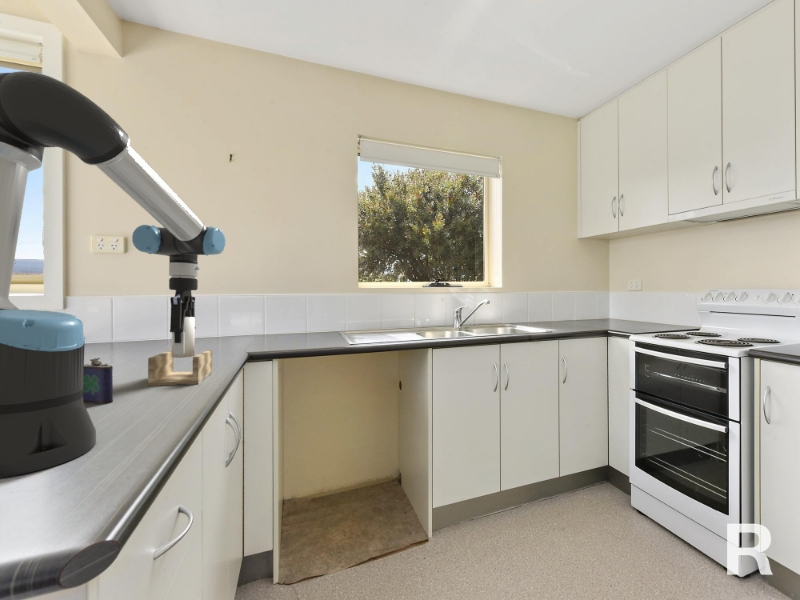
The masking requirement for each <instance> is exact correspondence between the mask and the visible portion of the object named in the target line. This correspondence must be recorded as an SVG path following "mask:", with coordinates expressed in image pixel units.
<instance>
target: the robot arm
mask: <svg viewBox="0 0 800 600" xmlns="http://www.w3.org/2000/svg"><path fill="white" fill-rule="evenodd" d="M130 142H131V138H130V136H129V134H128V133H127V132H126V131H125V130H124V129H123V128H122V127H121V125H120V124H119V123H118V122H117V121H116V120H115V119H114V118H112V116H111V115H110V114H109V113H107V112H106V111H105V110H104V109H103V108H102V107H101V106H99V105H98V104H96V102H94V101H92V100H91V99H90V98H89V97H88V96H86V95H84V94H83V93H81V92H80V91H78V90H77V89H75V88H73V87H72V86H70V85H69V84H67V83H65V82H63V81H61V80H59V79H56V78H54V77H52V76H48V75H47V74H42V73H40V72H39V73H38V72H34V71H24V70H23V71H13V72H0V479H1V478H8V477H13V476H19V475H24V474H28V473H29V474H30V473H33V472H37V471H40V470H44V469H48V468H52V467H55V466H57V465H60V464H64V463H66V462H69V461H72V460H74V459H76V458H78V457H80V456H83V455H84V454H86V453H88V452H89V451H90V450H92V449H93V448H94V447H95V446H96V445H97V430H96V428H95V425H94V422H93V420H92V418H91V416H90V414H89V412H88V409H87V407H86V405H85V403H84V402H83V376H84V365H85V345H86V344H85V343H86V341H85V340H86V338H85V337H86V336H85V335H84V324H83V321H82V320H81V319H80V318H79V317H78V316H76V315H73V314H70V313H67V312H58V311H51V310H37V309H36V310H34V309H20V308H19V307H17V305H15V304H14V303H13V302H11V300H10V299H9V295H10V289H11V282H12V277H13V269H14V265H15V264H14V263H15V258H16V251H17V243H18V239H19V232H20V225H21V221H22V220H21V219H22V213H23V207H24V201H25V194H26V190H27V189H26V188H27V183H28V176H29V173H30V172H32V171H35V170H37V169H40V168H41V167H42V165H43V160H44V159H43V158H44V154H45V153H44V152H45V148H60V149H63V150H66V151H68V152H70V153H72V154H73V155H75V156H76V157H77V158H78V159H80V161H82V162H83V163H84V164H87V165H88V166H95V167H97V168H98V169H99V170H100V171H101V172H102V173H103V174H104V175H106V177H108V178H109V179H110V180H112V182H113V183H115V184H116V186H118V187H119V188H120V189H121V190H122V191H123V192H124V193H125V194H127V195H128V196H129V197H130V198H131V199H132V200H133V201H134V202H136V203H137V204H138V205H139V206H140V207H141V208H142V209H144V210H145V212H147V214H149V215H150V216H151V217H152V218H153V219H154V220H156V221H157V222H158V223H159V224H160V225H161V226H162V227H160V226H155V225H149V224H141V225H139V226H137V227H136V228H135V229H134V231H133V232H132V236H131V237H132V240H131V241H132V245H133V246H134V248H135V249H136V250H138V251H139V252H141V253H145V254H149V255H159V256H160V255H161V256H167V257H169V258H168V259H169V262H168V276H170V278H169V279H168V288H169V290H171V291H175V292H174V296H171V297H170V298H169V301H170V325H169V327H170V328H169V332H170V333H172V332H174V352H173V354H184V351H185V332H183V328H184V318H185V317H195V318H196V313H195V312H196V311H195V310H196V309H195V305H196V304H195V303H196V297H195V296H193V295H192V291H197V290H198V288H199V287H198V286H199V285H198V283H199V279H197V277H198V275H199V274H198V273H199V272H198V271H199V270H200V267H198V266H199V264H198V258H199V256H209V255H211V256H212V255H213V256H214V255H215V256H216V255H219V254H222V253H223V251H224V249H225V247H226V237H225V234H224V232H223V231H222V230H221V228H219V227H213V226H208V227H207V226H206V225H205V223H204V222H202V221H201V220H200V218H199V216H197V215H196V214H195V213H194V212H193V211H192V210H191V208H189V207H188V205H186V203H185V202H184V201H183V200H182V199H181V198H180V197H179V196H178V194H177V193H176V192H174V190H173V189H172V188H171V187H170V186H169V185H168V184H167V183H166V182H165V181H164V179H162V177H161V176H159V174H158V173H157V172H156V170H154V169H153V168H152V167H151V166H150V165H149V164H148V162H147V161H146V160H145V159H144V158H143V157H142V156H141V155H140V154H139V152H137V151H136V150H135V149H134V147H133V146H132V145H131V144H130ZM196 328H197V327H196V326H195V329H196Z"/></svg>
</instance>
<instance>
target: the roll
mask: <svg viewBox="0 0 800 600" xmlns="http://www.w3.org/2000/svg"><path fill="white" fill-rule="evenodd" d="M195 318H196V316H195V317H185V318H184V328H183V332H185V351H184V354H173V352H174V332H171V351H172V357H173V358H174V359H178V358H179V359H180V358H181V359H182V358H183V359H184V358H191V357H192V358H193V357H194V356H195V349H196V348H195V342H196V338H195V336H196V335H195V334H196V332H195V330H196V328H195V327H196V323H195V322H196V319H195Z"/></svg>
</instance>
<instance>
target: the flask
mask: <svg viewBox="0 0 800 600" xmlns="http://www.w3.org/2000/svg"><path fill="white" fill-rule="evenodd" d="M100 359H101V357H97V358H96V357H95V358H93V359H92V358H91V359H89V361H90V364H88V363H86V364H85V363H84V376H83V402H84V404H98V405H108V404H109V405H110V404H112V403H114V392H113V391H114V388H113V387H114V386H113V383H114V381H113V368H114V367H113V365H111V364H108V363H103V362H102V361H99V360H100Z"/></svg>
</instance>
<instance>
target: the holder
mask: <svg viewBox="0 0 800 600" xmlns="http://www.w3.org/2000/svg"><path fill="white" fill-rule="evenodd" d="M147 359H148V360H147V387H155V386H156V387H158V386H160V385H163V386H177V385H176V384H189V385H197V384H196V383H199V382H200V381H201V380H203V379H204V378H205V377H206V376H207V375H208V374H210V373H211V372H212V373H213V349H209V350H208V349H207V350H205V351H203V352H201V353H198V354H196V355H194V356H192V371H174V365H175V364H174V361H175V358H173V357H172V350H167V351H164V352H161V353H159V354H155V355H153V356H150V357H148V358H147ZM204 380H205V379H204ZM204 380H203V381H204ZM200 383H201V382H200ZM200 383H199V384H200Z"/></svg>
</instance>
